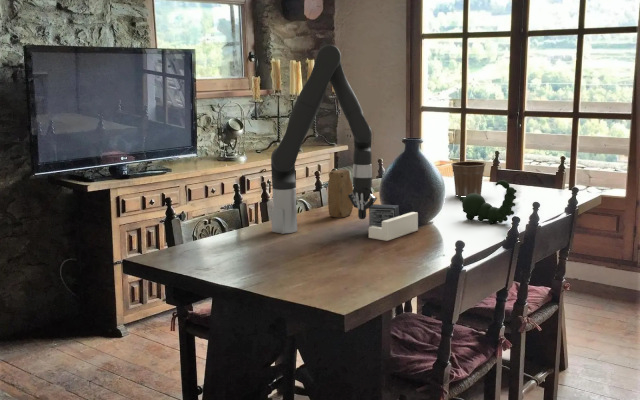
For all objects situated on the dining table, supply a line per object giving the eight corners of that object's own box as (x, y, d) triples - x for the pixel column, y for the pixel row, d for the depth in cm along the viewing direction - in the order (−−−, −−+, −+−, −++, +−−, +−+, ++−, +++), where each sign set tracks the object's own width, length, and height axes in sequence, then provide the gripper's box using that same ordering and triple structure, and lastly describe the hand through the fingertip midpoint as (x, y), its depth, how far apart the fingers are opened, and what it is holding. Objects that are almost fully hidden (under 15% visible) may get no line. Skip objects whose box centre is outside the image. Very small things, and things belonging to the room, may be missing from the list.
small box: (399, 231, 267) (399, 204, 265) (395, 235, 261) (395, 207, 259) (373, 229, 271) (373, 203, 269) (368, 233, 265) (368, 206, 263)
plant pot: (451, 199, 329) (451, 165, 326) (450, 193, 345) (450, 161, 342) (485, 199, 327) (486, 165, 324) (483, 193, 342) (484, 161, 339)
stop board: (387, 240, 253) (387, 222, 251) (368, 237, 258) (368, 219, 257) (417, 230, 268) (417, 212, 267) (399, 227, 273) (399, 210, 272)
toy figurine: (516, 227, 277) (461, 214, 293) (521, 181, 272) (466, 170, 288) (504, 231, 270) (450, 217, 286) (510, 184, 265) (454, 173, 281)
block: (340, 219, 291) (339, 172, 287) (326, 216, 296) (325, 170, 292) (355, 214, 299) (355, 169, 295) (342, 212, 304) (341, 167, 300)
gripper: (343, 175, 270) (343, 218, 273) (370, 178, 261) (370, 222, 265) (354, 172, 275) (354, 215, 279) (381, 175, 267) (381, 219, 270)
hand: (362, 218), depth 272 cm, fingers closed
